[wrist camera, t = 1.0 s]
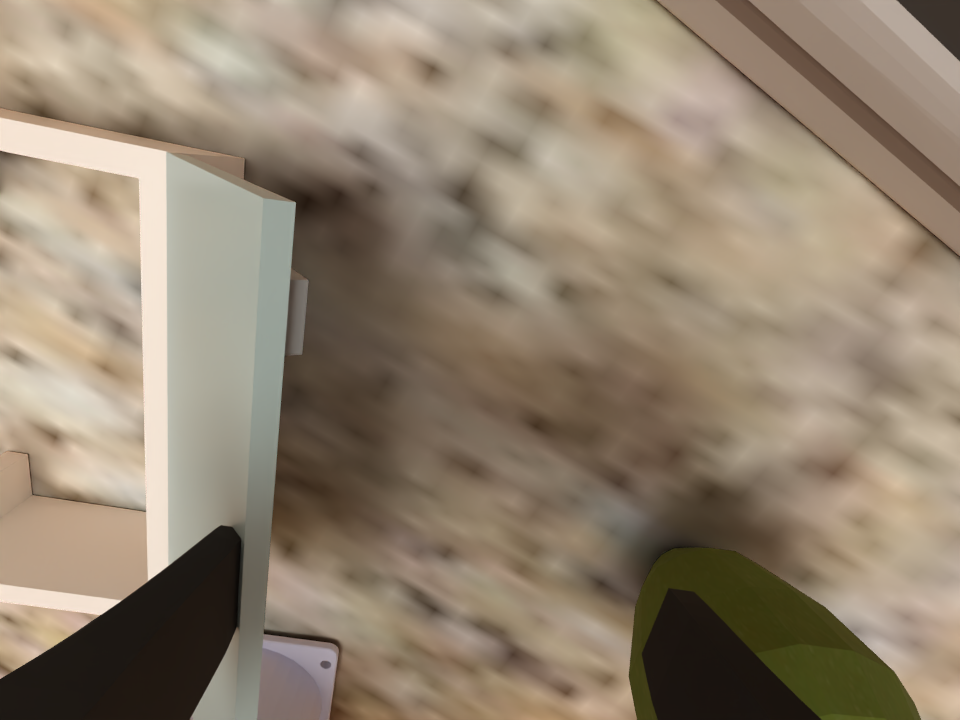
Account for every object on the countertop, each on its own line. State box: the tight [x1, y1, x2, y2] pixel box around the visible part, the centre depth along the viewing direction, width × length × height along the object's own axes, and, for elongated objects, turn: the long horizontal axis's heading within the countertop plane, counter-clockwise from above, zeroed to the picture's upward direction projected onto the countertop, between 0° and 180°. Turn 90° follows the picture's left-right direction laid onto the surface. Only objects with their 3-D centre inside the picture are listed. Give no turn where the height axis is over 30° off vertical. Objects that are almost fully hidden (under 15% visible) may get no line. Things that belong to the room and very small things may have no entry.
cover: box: [166, 152, 309, 720], centre depth 13 cm, size 16×8×1 cm
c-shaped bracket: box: [0, 108, 245, 615], centre depth 18 cm, size 16×9×5 cm, turn 169°
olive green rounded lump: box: [629, 547, 921, 720], centre depth 18 cm, size 9×8×12 cm
